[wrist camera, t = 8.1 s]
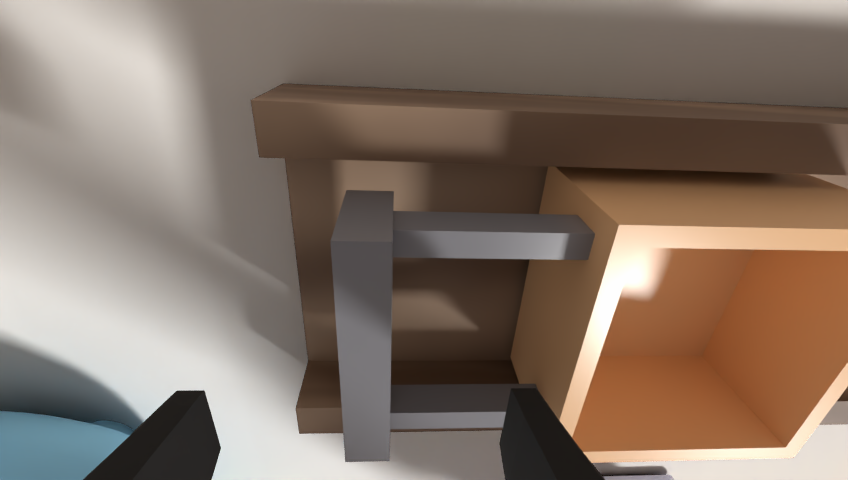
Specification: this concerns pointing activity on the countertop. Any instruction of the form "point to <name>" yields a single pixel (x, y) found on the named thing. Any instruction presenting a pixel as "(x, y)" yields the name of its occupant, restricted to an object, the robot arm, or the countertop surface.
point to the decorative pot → (54, 446)
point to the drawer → (622, 312)
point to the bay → (488, 200)
